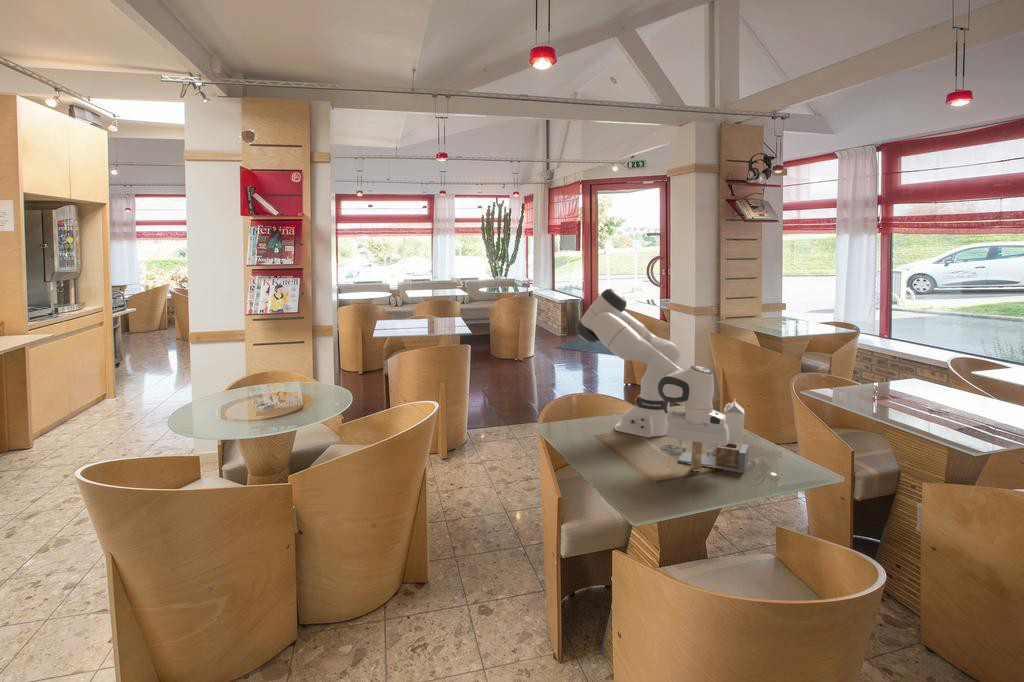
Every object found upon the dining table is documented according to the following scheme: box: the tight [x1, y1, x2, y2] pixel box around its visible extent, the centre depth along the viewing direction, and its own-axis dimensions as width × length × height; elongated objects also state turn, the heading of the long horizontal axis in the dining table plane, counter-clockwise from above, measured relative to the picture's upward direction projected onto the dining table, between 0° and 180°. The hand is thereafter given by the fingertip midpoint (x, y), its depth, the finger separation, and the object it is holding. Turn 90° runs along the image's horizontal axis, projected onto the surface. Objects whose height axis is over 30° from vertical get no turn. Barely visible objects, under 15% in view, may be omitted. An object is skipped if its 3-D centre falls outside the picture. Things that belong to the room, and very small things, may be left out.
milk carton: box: [723, 398, 745, 444], centre depth 231 cm, size 7×7×19 cm
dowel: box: [690, 441, 703, 470], centre depth 210 cm, size 3×3×12 cm
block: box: [715, 442, 742, 467], centre depth 215 cm, size 7×7×6 cm
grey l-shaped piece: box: [677, 443, 749, 474], centre depth 217 cm, size 22×10×7 cm, turn 63°
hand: (696, 454), depth 210 cm, fingers open, 7 cm apart
